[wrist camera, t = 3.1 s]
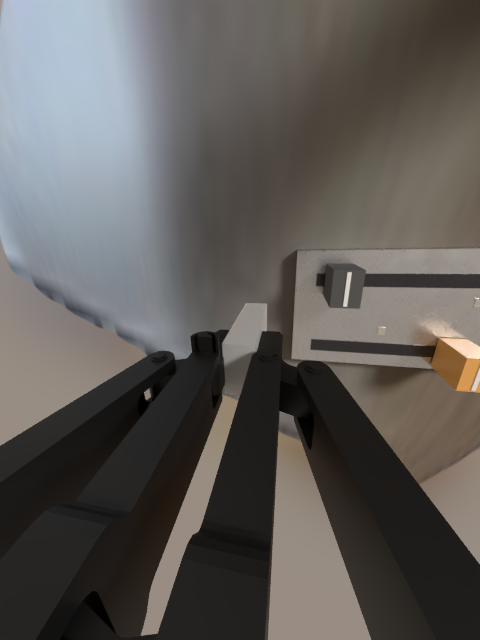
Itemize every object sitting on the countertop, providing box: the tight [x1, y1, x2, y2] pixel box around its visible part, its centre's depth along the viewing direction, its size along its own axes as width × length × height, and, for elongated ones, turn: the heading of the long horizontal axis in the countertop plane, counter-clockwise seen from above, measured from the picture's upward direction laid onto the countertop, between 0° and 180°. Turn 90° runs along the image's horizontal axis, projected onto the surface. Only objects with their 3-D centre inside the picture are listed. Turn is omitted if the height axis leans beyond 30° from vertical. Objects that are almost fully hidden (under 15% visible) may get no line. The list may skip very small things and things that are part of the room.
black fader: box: [323, 264, 366, 309], centre depth 26 cm, size 4×3×5 cm
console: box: [291, 247, 480, 369], centre depth 29 cm, size 15×28×2 cm, turn 91°
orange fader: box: [431, 338, 480, 392], centre depth 27 cm, size 4×3×5 cm
